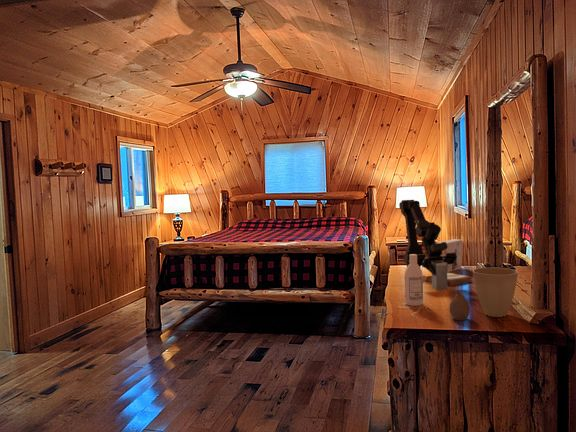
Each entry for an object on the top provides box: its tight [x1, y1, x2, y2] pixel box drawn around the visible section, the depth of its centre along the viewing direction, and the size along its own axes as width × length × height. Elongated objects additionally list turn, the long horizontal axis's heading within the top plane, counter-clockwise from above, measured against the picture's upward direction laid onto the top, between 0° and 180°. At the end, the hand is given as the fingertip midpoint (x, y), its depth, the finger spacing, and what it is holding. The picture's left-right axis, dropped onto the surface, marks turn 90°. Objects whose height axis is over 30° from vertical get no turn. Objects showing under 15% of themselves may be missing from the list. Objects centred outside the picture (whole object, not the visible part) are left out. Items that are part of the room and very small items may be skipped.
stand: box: [426, 272, 472, 287], centre depth 228 cm, size 14×14×3 cm
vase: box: [448, 293, 471, 321], centre depth 168 cm, size 7×7×9 cm
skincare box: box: [436, 238, 463, 273], centre depth 253 cm, size 21×6×16 cm, turn 132°
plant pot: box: [472, 267, 519, 318], centre depth 171 cm, size 15×15×16 cm
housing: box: [431, 261, 448, 291], centre depth 214 cm, size 5×5×12 cm
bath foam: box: [404, 254, 424, 307], centre depth 189 cm, size 7×7×20 cm
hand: (440, 274), depth 213 cm, fingers closed on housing, 5 cm apart
